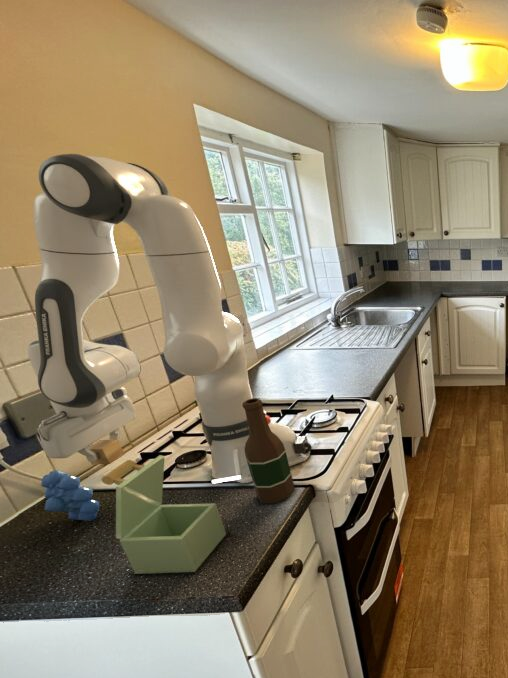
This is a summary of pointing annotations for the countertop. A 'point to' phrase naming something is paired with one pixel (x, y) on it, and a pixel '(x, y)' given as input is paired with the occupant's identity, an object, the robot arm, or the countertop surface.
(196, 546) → the container
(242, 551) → the countertop surface
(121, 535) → the box lid
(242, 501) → the countertop surface
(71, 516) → the grapes
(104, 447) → the block
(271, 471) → the beer bottle
